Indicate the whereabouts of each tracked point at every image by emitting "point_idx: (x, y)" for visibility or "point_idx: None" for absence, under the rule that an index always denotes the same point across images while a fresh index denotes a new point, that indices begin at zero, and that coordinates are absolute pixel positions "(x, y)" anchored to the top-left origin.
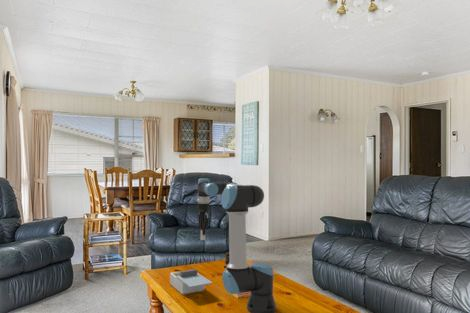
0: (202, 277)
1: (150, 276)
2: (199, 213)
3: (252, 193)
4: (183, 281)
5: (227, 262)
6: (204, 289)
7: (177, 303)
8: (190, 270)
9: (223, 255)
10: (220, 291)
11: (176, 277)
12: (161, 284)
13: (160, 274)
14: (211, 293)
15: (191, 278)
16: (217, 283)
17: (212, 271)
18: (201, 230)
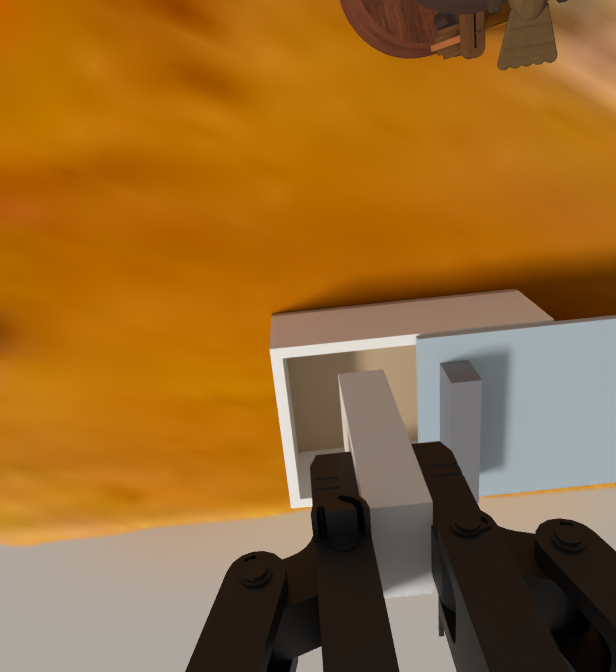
0: (552, 341)
1: (85, 528)
2: None
3: None
4: (555, 486)
5: (505, 1)
6: (518, 291)
7: (606, 484)
8: (467, 434)
9: (526, 57)
10: (592, 183)
11: None
12: (270, 499)
13: (56, 468)
14: (588, 261)
15: (526, 423)
16: (422, 133)
17: (78, 36)
18: (414, 581)
